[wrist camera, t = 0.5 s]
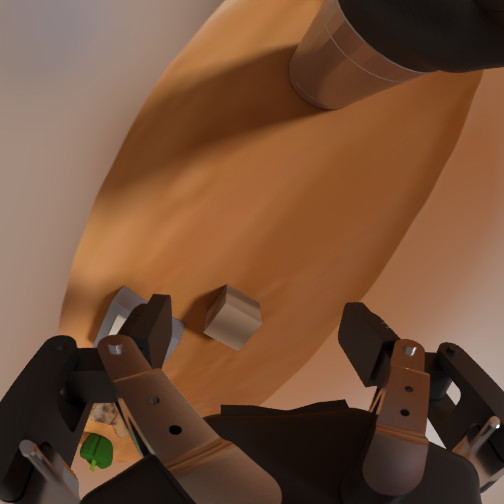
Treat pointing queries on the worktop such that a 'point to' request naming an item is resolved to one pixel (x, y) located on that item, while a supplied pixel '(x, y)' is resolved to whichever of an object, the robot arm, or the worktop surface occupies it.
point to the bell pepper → (97, 451)
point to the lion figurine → (109, 418)
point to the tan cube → (232, 318)
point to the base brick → (122, 309)
